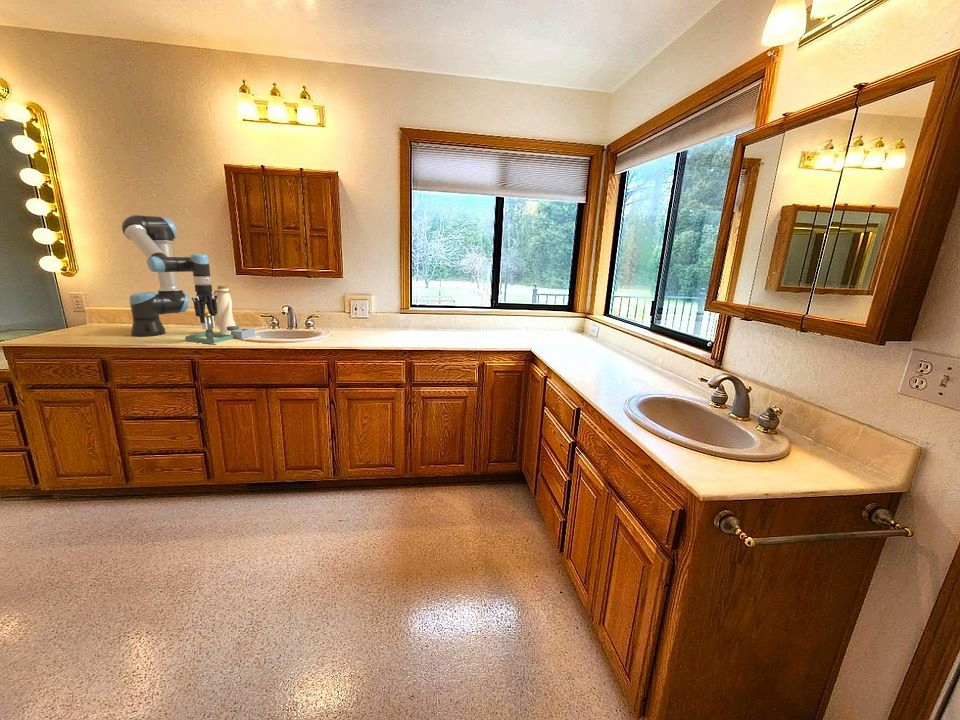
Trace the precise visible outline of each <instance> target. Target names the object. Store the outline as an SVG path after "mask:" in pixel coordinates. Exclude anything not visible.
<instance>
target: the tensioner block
mask: <svg viewBox="0 0 960 720" xmlns="http://www.w3.org/2000/svg"><path fill="white" fill-rule="evenodd" d="M227 330H228V331H231V333H230V335H233V337H234V339H238V340H245V339H248V338H253V337H256V332H255V331H256V330H255V328H251V327H250V328H247V327H242V328H240V326H238V325H236V326H228V327H227Z"/></svg>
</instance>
